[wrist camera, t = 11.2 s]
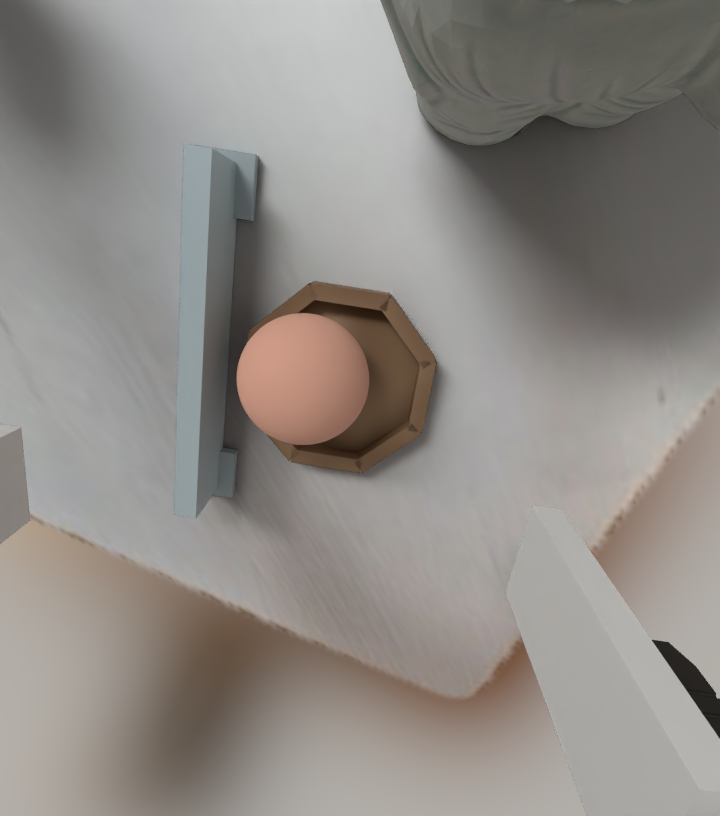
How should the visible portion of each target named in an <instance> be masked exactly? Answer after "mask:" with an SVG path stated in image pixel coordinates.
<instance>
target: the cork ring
mask: <svg viewBox="0 0 720 816" xmlns="http://www.w3.org/2000/svg"><path fill="white" fill-rule="evenodd" d="M295 313H309V314H316V315H320V316H323V317H326V318H329V319H331V320H333V321H335V322H337V323H338V324H340V325H341V326H343V327H344V328H345V329H346V330H347V331H349V332H350V333H351V334H352V335H353V337H354V338H355V339H356V341H357V342H358V343H359V345H360V347H361V348H362V350H363V353H364V355H365V357H366V361H367V365H368V370H369V390H368V395H367V398H366V401H365V404H364V406H363V408H362V410H361V412H360V414H359V415H358V417H357V418H356V420H355V421H354V422H353V423H352V424H351V425H350V426H349V427H348V428H347V429H346V430H345V431H344V432H342V433H341V434H339V435H338V436H336V437H334V438H332V439H330V440H328V441H325V442H322V443H317V444H312V445H295V444H290V443H285V442H282V441H279V440H277V439H275V438H273V437H271V436H269V435H268V437H269V438H270V439H271V440H272V441H273V443H274V444H275V445H276V446H277V447H278V449H279V450H280V451H281V452H282V453H283V455H284V456H285V457H286V458H287V459H288V461H289V460H291V462H293V463H300V464H306V465H312V466H318V467H325V468H331V469H337V470H343V471H350V472H356V473H360V471H361V472H362V473H363V472H364V471H366V470H367V469H369V468H370V467H372V466H373V465H375V464H376V463H378V462H380V461H381V460H383V459H384V458H386V457H387V456H389V455H390V454H392V453H393V452H395V451H397V450H398V449H400V448H401V447H403V446H404V445H406V444H407V443H409V442H411V441H412V440H414V439H415V438H417V437H418V436H420V435H421V434H420V433H422V431H423V426H424V421H425V417H426V412H427V407H428V402H429V397H430V392H431V388H432V383H433V378H434V373H435V368H436V363H437V362H436V359H435V357H434V355H433V353H432V352H431V350H430V349H429V347H428V346H427V345H426V343H425V342H424V340H423V339H422V337H421V336H420V335H419V333H418V332H417V330H416V329H415V327H414V326H413V324H412V323H411V322H410V320H409V319H408V317H407V316H406V315H405V313H404V312H403V310H402V309H401V307H400V306H399V305H398V303H397V302H396V300H395V299H394V297H393V296H392V295H390V294H389V293H386V292H379V291H373V290H367V289H360V288H354V287H348V286H342V285H335V284H329V283H323V282H316V281H315V282H312V283H309V284H308V285H306V286H305V287H304V288H302V289H301V290H300V291H299V292H297V293H296V294H295V295H294V296H292V297H291V298H290V299H288V300H287V301H286V302H285V303H283V304H282V305H281V306H280V307H278V308H277V309H276V310H274V311H273V312H272V313H271V314H269V315H268V316H267V317H266V318H264V319H263V320H262V321H260V322H259V323H258V324H257V325H255V326H254V327H253V328H252V329H250V330H249V331H250V332H248V337H247V343H248V341H249V340H250V338H251V337H252V336H253V335H254V334H255V333H256V332H257V331H258V330H259V329H260V328H261V327H263V326H264V325H265V324H267V323H269V322H270V321H272V320H274V319H276V318H279V317H282V316H285V315H289V314H295Z"/></svg>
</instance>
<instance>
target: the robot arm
mask: <svg viewBox="0 0 720 816" xmlns="http://www.w3.org/2000/svg"><path fill="white" fill-rule="evenodd" d="M29 521H30V513H29V503H28V493H27V482H26V472H25V462H24V452H23V441H22V431H21V427H16V426H10V425H3V424H0V544H1V543H2V542H3V541H4V540H6V539H7V538H8V537H10V536H11V535H12V534H13V533H15V532H16V531H17V530H19V529H20V528H21V527H22V526H24V525H25V524H26V523H28V522H29ZM506 595H507V598H508V601H509V603H510V606H511V609H512V612H513V614H514V617H515V620H516V623H517V626H518V628H519V631H520V634H521V637H522V639H523V642H524V645H525V648H526V650H527V653H528V656H529V658H530V661H531V664H532V667H533V670H534V672H535V675H536V678H537V681H538V683H539V686H540V689H541V692H542V694H543V697H544V700H545V702H546V705H547V708H548V711H549V714H550V716H551V719H552V722H553V725H554V727H555V730H556V733H557V736H558V738H559V741H560V744H561V746H562V749H563V752H564V755H565V758H566V760H567V763H568V766H569V769H570V771H571V774H572V777H573V779H574V782H575V785H576V788H577V790H578V793H579V796H580V799H581V802H582V804H583V807H584V810H585V813H586V815H587V816H720V699H717V698H716V693H715V692H714V690H713V689H712V687H711V686H710V685H709V684H708V682H707V681H706V679H705V678H704V677H703V675H702V674H701V673H700V672H699V670H698V669H697V668H696V666H694V664H692V663H691V662H690V661H689V660H688V659H687V658H685V657H684V656H683V655H682V654H681V653H680V652H679V651H678V650H676V649H675V648H674V647H673V646H672V645H671V644H670V643H669V642H663V641H656V640H651V639H650V637H649V636H648V634H647V633H646V631H645V630H644V628H643V627H642V626H641V624H640V623H639V621H638V620H637V618H636V617H635V615H634V614H633V612H632V611H631V610H630V608H629V607H628V605H627V604H626V602H625V601H624V600H623V598H622V597H621V595H620V594H619V592H618V591H617V589H616V588H615V586H614V585H613V583H612V582H611V581H610V579H609V578H608V576H607V575H606V574H605V572H604V570H603V569H602V568H601V566H600V565H599V563H598V562H597V560H596V559H595V557H594V556H593V555H592V553H591V552H590V550H589V549H588V547H587V546H586V544H585V543H584V541H583V540H582V539H581V537H580V536H579V534H578V533H577V531H576V530H575V528H574V527H573V526H572V524H571V523H570V521H569V520H568V518H567V517H566V515H565V514H564V512H563V511H562V510H559V509H553V508H546V507H540V506H533V505H532V508H531V511H530V514H529V518H528V521H527V524H526V527H525V530H524V534H523V537H522V540H521V543H520V546H519V550H518V553H517V556H516V559H515V563H514V566H513V569H512V572H511V575H510V579H509V582H508V585H507V588H506Z"/></svg>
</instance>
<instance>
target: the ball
mask: <svg viewBox="0 0 720 816" xmlns="http://www.w3.org/2000/svg"><path fill="white" fill-rule="evenodd" d="M237 389H238V394H239V397H240V400H241V403H242V406H243V408H244V410H245V412H246V413H247V415H248V416H249V418H250V419H251V420H252V421H253V423H254V424H255V425H256V426H257V427H258V428H259V429H261V430H262V431H263V432H265V433H266V434H267V435H269V436H271V437H273V438H275V439H277V440H279V441H282V442H285V443H290V444H295V445H312V444H317V443H322V442H325V441H328V440H330V439H332V438H334V437H336V436H338V435H339V434H341V433H342V432H344V431H345V430H346V429H347V428H348V427H349V426H350V425H351V424H352V423H353V422H354V421H355V420H356V418H357V417H358V415H359V414H360V412H361V410H362V408H363V406H364V404H365V401H366V398H367V395H368V390H369V370H368V365H367V361H366V357H365V355H364V353H363V350H362V348H361V347H360V345H359V343H358V342H357V341H356V339H355V338H354V337H353V335H352V334H351V333H350V332H349V331H347V330H346V329H345V328H344V327H343V326H341V325H340V324H338V323H337V322H335V321H333V320H331V319H329V318H326V317H323V316H320V315H316V314H309V313H295V314H289V315H285V316H282V317H279V318H276V319H274V320H272V321H270V322H269V323H267V324H265V325H264V326H263V327H261V328H260V329H259V330H258V331H257V332H256V333H255V334H254V335H253V336H252V337H251V338H250V340H249V341H248V343H247V344H246V346H245V348H244V350H243V352H242V354H241V357H240V360H239V363H238V368H237Z"/></svg>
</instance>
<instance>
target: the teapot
mask: <svg viewBox="0 0 720 816" xmlns="http://www.w3.org/2000/svg"><path fill="white" fill-rule="evenodd" d="M381 3H382V6H383V8H384V11H385V13H386V16H387V19H388V22H389V24H390V27H391V30H392V33H393V35H394V38H395V41H396V44H397V46H398V49H399V52H400V55H401V57H402V60H403V63H404V66H405V68H406V71H407V74H408V77H409V79H410V81H411V83H412V86H413V88H414V90H415V91H416V96H417V102H418V107H419V109H420V111H421V113H422V115H423V116H424V118H425V119H426V120H427V121H428V122H429V123H430V124H431V125H432V126H433V127H434V128H436V129H437V130H438V131H439V132H441V133H442V134H444V135H445V136H447V137H448V138H450V139H452V140H455V141H458V142H461V143H463V144H466V145H481V146H483V145H491V144H497V143H499V142H502V141H504V140H506V139H509V138H511V137H513V136H515V135H518V134H520V133H521V132H522V131H523V130H524V129H525V128H526V127H527V126H529V125H530V124H531V122H532V121H533V120H534V119H536V118H537V117H539V116H544V115H548V116H551V117H555V118H557V119H559V120H561V121H564V122H566V123H568V124H570V125H572V126H580V127H588V128H600V127H607V126H613V125H615V124H618V123H620V122H622V121H624V120H626V119H628V118H629V117H631V116H632V115H634V114H635V113H636V112H641V111H646V110H648V109H651V108H653V107H655V106H658V105H660V104H663V103H666V102H668V101H670V100H672V99H673V98H675V97H677V96H679V95H681V94H682V93H684V94H685V95H686V96H687V97H688V99H689V100H690V101H691V103H692V104H693V105H694V107H695V108H696V109H697V110H698V112H699V113H700V114H701V116H703V117H704V118H705V119H706V120H707V121H708V122H710V123H711V124H712V125H713V126H714V127H715V128H716V129H718V130H720V0H381Z"/></svg>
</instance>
